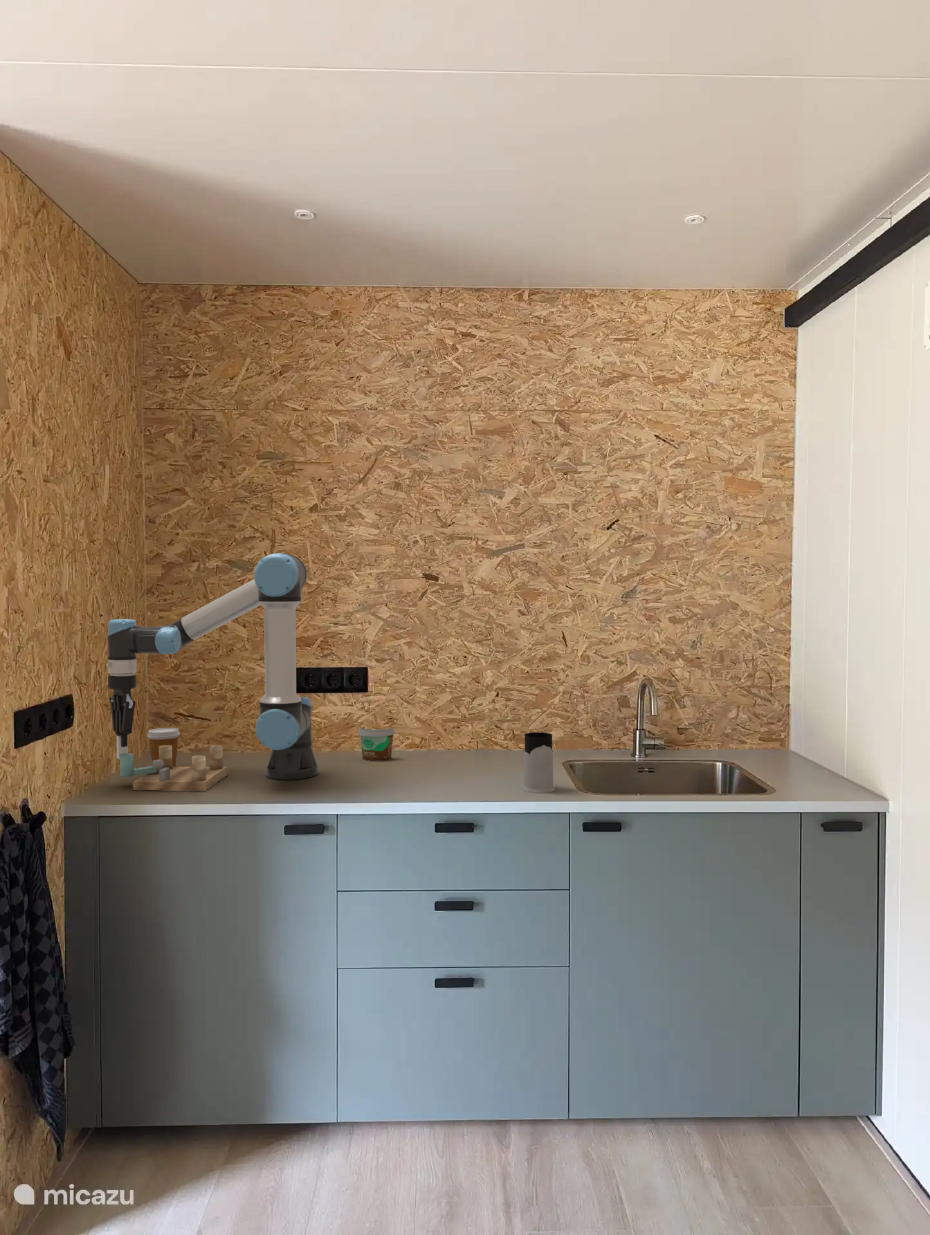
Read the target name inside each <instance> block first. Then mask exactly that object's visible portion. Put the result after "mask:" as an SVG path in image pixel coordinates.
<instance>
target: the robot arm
mask: <svg viewBox="0 0 930 1235" xmlns="http://www.w3.org/2000/svg"><path fill="white" fill-rule="evenodd" d="M253 572H254V574H253V576H254V577H253V579H252V580H250V581H247V582H246V583H244V584H242V585H241V586H239V587H237V588H235V589H233V590H231V591H229V592H227V593H226V594H223V595H222V596H220V597H218V598H216V599H215V600H212V601H211V602H209V603H207V604H205V605H203V606H202V607H200V608H198V609H196V610H194V611H192V612H190V613H187V615H184V616H183V617H181V618H179V619H177V620H174V621H173V622H172V623H170V624H167V625H161V626H138V625H137V621H136V620H135V619H131V618H119V619H117V618H116V619H110V620H109V621H108V625H107V635H106V637H107V663H106V665H105V666H106V667H107V674H109V675H108V676H107V688H108V690H113V692H112V693H113V694H112V696H110V697H109V699H108V700H109V704H110V712H111V721H112V722H111V723H112V732H115V735H116V759H118V760H120V755H121V754H126V753H129V735H131V734H132V732H133V726H134V725H133V724H134V723H133V722H134V716H135V714H134V713H135V706H136V704H137V703H136V700H133V696H132V692H131V690H132V689H136V688H137V675H136V673H137V670H138V669H137V666H138V665H137V664H138V663H137V654H149V655H151V654H152V655H154V654H157V655H158V654H159V655H171V654H172V655H174V654H176V653H178V652H179V650H181V649H184V648H185V647H187V646H188V644H189V645H190V644H191V643H192V642H194V641H196V640H198V639H199V638H201V637H203V636H205V635H206V634H209V633H210V632H212V631H215V630H216V629H218V628H220V627H222V626H224V625H225V624H226V625H227V624H228V623H230V622H231V621H233V620H236V618H239V617H241V616H242V615H244V614H247V613H248V612H250V611H252V610H254V609H256V608H258V607H260V606H261V607H263V614H264V617H263V618H264V620H263V623H264V624H263V629H264V630H263V631H264V635H263V636H264V637H263V638H264V694H263V696H262V697H261V698H260V699H259V701H258V702H259V703H258V704H259V711H258V712H259V716H258V718H257V720H256V724H255V734H256V735H255V736H256V738H257V740H258V741H259V742H260V743H261V744H262V745H263V747H265V748H267V749H270V750H271V751H270V754H269V757H268V761H267V763H266V764H267V765H266V768H265V776H266V777H267V778H270V779H274V780H288V781H289V780H290V781H291V780H300V779H306V778H307V779H308V778H311V777H314V776H317V775H318V774H319V765H318V762H317V758H316V756H315V754H314V753H315V752H314V750H313V742H312V741H313V740H312V739H313V738H312V734H313V731H312V710H313V706H312V701H311V699H310V698H309V697H307V696H304V697H303V696H302V697H300V696H299V695H298V694H297V641H296V640H297V631H296V630H297V628H296V625H297V624H296V621H297V620H296V617H297V614H296V613H297V612H296V611H297V610H296V609H297V607H299V605H300V604H301V603H302V589H303V588H304V586H305V584H306V581H307V579H308V571H307V567H306V565H305V563H304V562H303V561H302V560H301V559H300V558H299V557H297V556H295V555H293V554H287V553H283V552H281V553H280V552H277V553H271V554H269V555H266V556H264V557H262V559H260V561H258V563H257V564H256V566H255V568H254V571H253Z"/></svg>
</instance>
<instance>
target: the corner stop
mask: <svg viewBox="0 0 930 1235" xmlns="http://www.w3.org/2000/svg"><path fill="white" fill-rule="evenodd" d="M168 779H170V768H163V769H161V770H159V782H165V781H166V780H168Z"/></svg>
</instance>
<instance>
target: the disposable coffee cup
mask: <svg viewBox="0 0 930 1235" xmlns="http://www.w3.org/2000/svg"><path fill="white" fill-rule="evenodd" d="M180 735H181V732H180V731H179V728H175V727H162V728H152V729H149V730H148V733H147V739H148V741H149V749H150V756H151V760H152V761H151V762H152V763H153V761H154V760H159V746H163V745H171V746H172V767H177V766H176V765H177V764H176V763H177V756H178V746H179V737H180Z"/></svg>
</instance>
